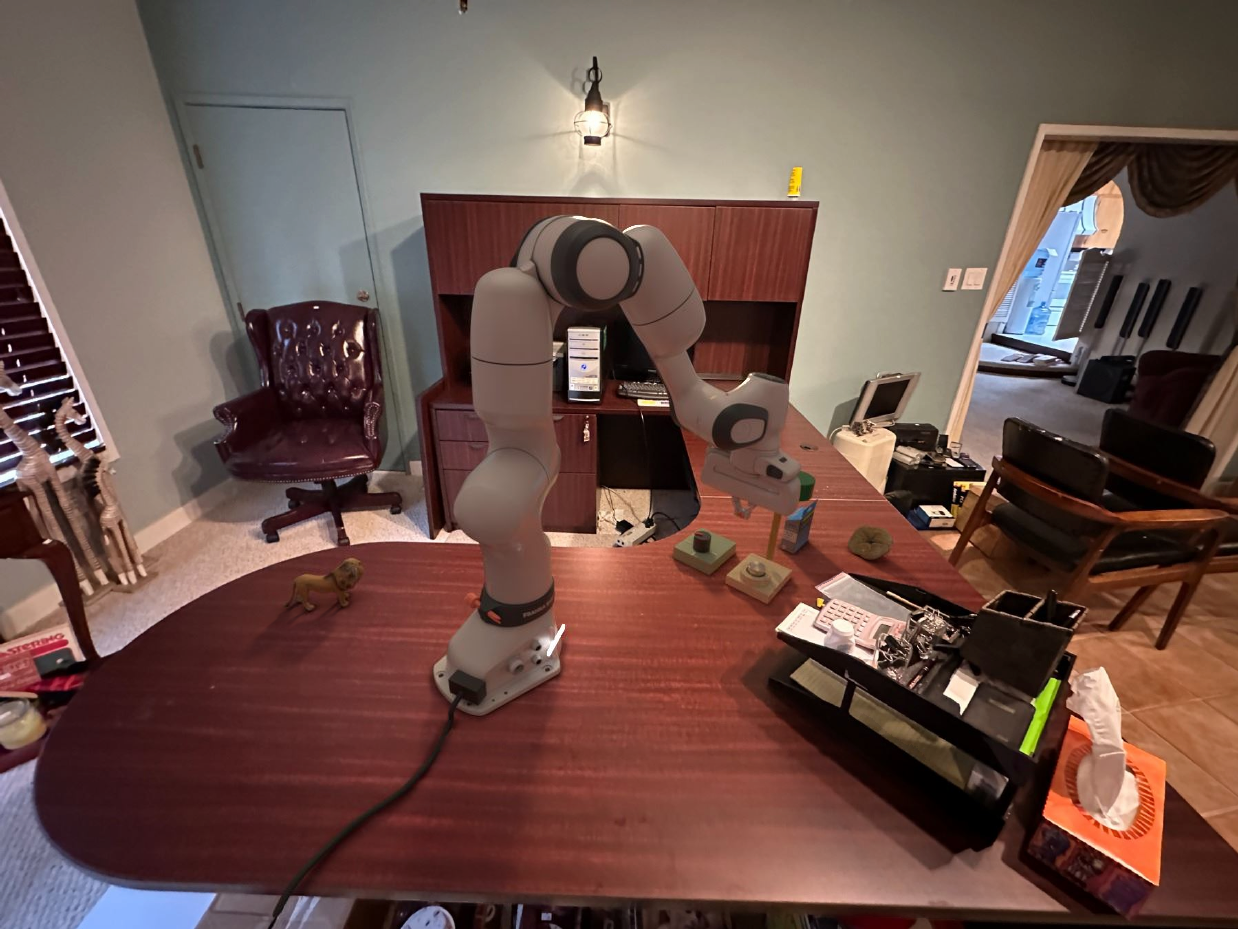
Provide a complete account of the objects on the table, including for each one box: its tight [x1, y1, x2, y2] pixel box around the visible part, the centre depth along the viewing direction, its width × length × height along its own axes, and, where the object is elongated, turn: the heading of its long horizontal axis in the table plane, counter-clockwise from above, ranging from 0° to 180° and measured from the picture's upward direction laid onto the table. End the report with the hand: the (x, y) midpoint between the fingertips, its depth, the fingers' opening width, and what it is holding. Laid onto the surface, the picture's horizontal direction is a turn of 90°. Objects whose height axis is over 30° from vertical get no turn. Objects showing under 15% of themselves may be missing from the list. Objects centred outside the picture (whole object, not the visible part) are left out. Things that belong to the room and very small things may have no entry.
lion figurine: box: [283, 557, 364, 612], centre depth 96 cm, size 15×5×9 cm, turn 110°
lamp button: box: [747, 561, 765, 577], centre depth 106 cm, size 4×4×2 cm
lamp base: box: [724, 552, 793, 605], centre depth 109 cm, size 12×10×4 cm
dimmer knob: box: [693, 530, 712, 553], centre depth 115 cm, size 4×4×4 cm
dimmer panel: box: [672, 527, 737, 576], centre depth 117 cm, size 12×10×3 cm
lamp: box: [764, 470, 816, 561], centre depth 111 cm, size 12×8×19 cm
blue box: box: [779, 498, 819, 555], centre depth 122 cm, size 9×4×12 cm, turn 139°
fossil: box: [847, 524, 894, 560], centre depth 121 cm, size 9×4×10 cm
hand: (741, 516), depth 102 cm, fingers closed
